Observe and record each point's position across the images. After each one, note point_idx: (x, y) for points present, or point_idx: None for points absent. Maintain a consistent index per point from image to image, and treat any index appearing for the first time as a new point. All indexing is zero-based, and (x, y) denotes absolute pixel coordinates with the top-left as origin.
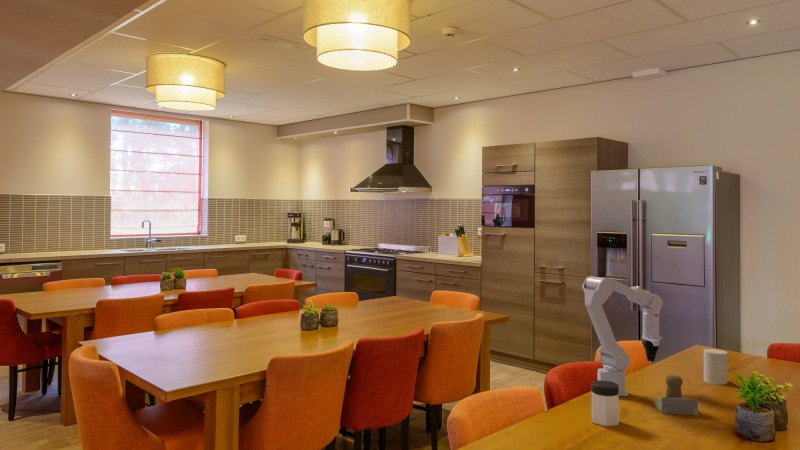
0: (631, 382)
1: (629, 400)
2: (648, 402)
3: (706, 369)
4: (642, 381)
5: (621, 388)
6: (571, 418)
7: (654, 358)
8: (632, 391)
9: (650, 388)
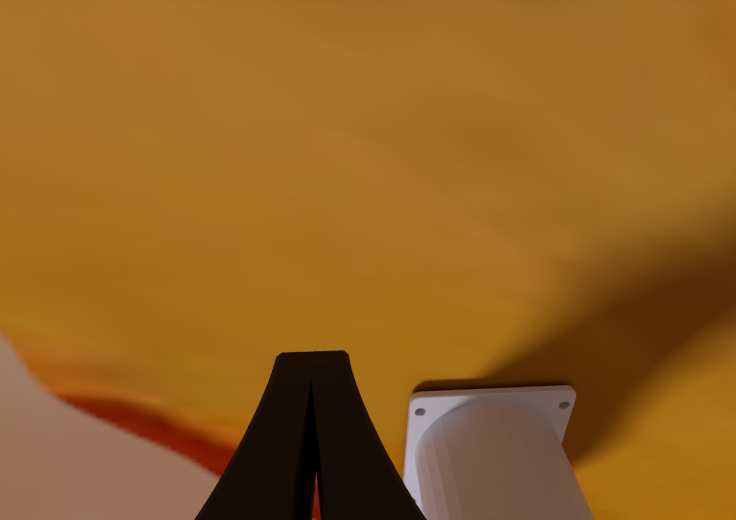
0: (147, 295)
1: (650, 387)
2: (718, 288)
3: None
4: (61, 191)
5: (566, 458)
6: None
7: (357, 390)
8: (437, 336)
9: (321, 177)
